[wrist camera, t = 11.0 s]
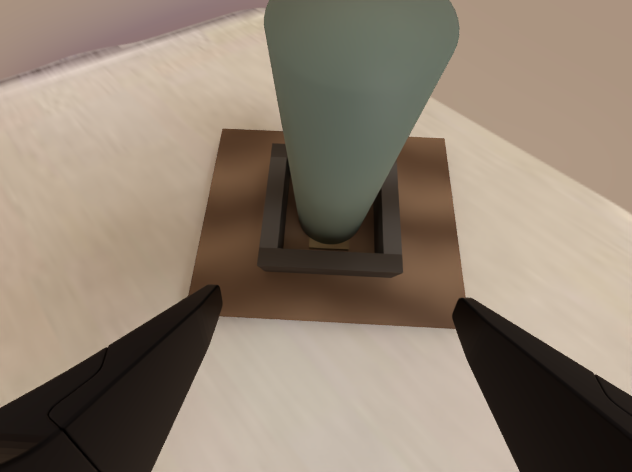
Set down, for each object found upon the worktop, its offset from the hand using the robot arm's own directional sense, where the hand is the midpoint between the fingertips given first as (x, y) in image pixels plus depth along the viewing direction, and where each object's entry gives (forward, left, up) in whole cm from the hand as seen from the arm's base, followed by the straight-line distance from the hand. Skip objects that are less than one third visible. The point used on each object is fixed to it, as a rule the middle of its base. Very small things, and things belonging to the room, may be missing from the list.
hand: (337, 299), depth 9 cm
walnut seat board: (+4, -5, -10) cm, 12 cm away
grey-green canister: (+4, -5, -8) cm, 10 cm away
